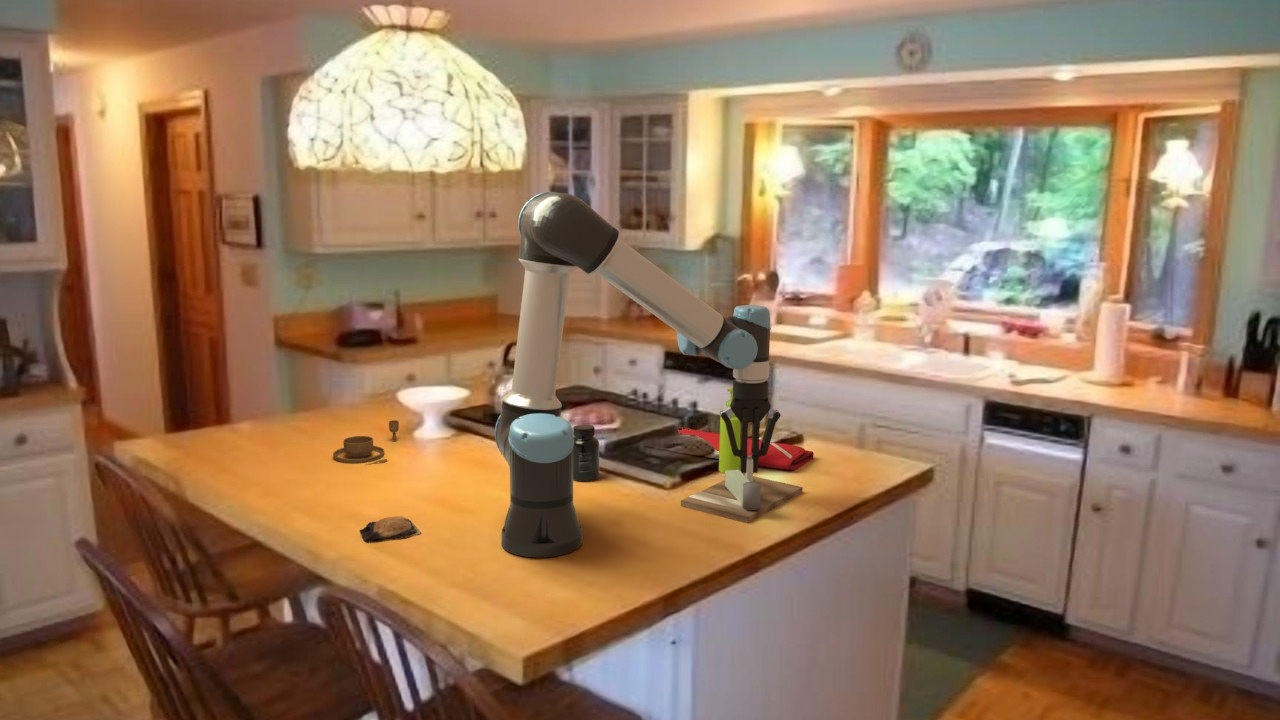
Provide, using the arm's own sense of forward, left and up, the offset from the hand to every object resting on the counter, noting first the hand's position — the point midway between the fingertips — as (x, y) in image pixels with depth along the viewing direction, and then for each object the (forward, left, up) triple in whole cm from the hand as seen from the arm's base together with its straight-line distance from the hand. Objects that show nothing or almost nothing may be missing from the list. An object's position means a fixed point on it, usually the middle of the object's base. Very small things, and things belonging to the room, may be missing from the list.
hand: (748, 486), depth 202 cm
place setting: (-29, +89, -4) cm, 94 cm away
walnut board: (-1, +1, -3) cm, 3 cm away
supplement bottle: (-11, +37, -3) cm, 38 cm away
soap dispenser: (+15, +13, -3) cm, 20 cm away
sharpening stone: (-4, -1, -1) cm, 4 cm away
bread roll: (-60, +44, -3) cm, 75 cm away
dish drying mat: (+27, +22, -3) cm, 35 cm away
